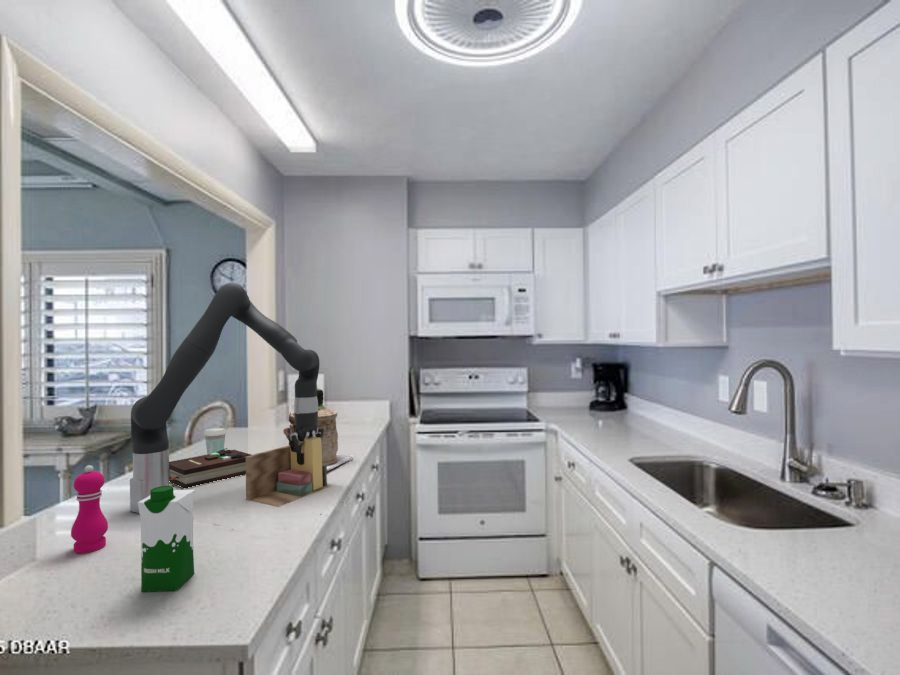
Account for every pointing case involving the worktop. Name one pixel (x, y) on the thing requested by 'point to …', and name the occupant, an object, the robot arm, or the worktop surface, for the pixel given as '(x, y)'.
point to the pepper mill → (89, 513)
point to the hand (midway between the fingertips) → (306, 462)
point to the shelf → (277, 478)
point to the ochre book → (310, 461)
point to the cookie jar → (324, 434)
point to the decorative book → (207, 468)
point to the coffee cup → (214, 439)
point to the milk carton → (166, 539)
